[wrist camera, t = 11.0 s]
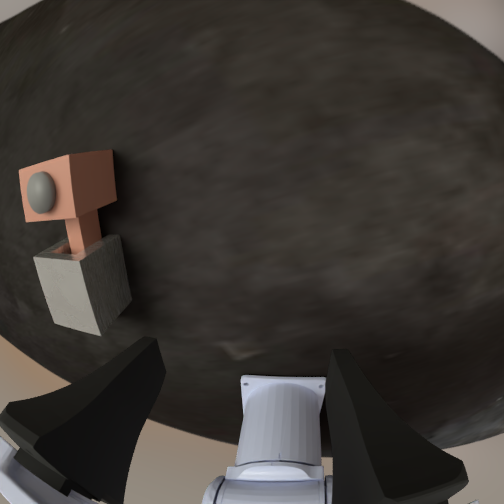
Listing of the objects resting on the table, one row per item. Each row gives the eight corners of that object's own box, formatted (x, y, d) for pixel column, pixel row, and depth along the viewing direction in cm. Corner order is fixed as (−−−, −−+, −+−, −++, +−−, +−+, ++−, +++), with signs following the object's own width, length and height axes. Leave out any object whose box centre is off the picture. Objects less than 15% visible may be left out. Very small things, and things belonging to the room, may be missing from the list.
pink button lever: (138, 312, 23) (108, 351, 18) (89, 305, 23) (57, 337, 18) (112, 149, 18) (62, 155, 12) (60, 161, 18) (13, 171, 13)
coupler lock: (132, 300, 22) (101, 335, 17) (87, 293, 23) (54, 323, 18) (120, 234, 20) (79, 261, 15) (74, 234, 21) (33, 256, 16)
